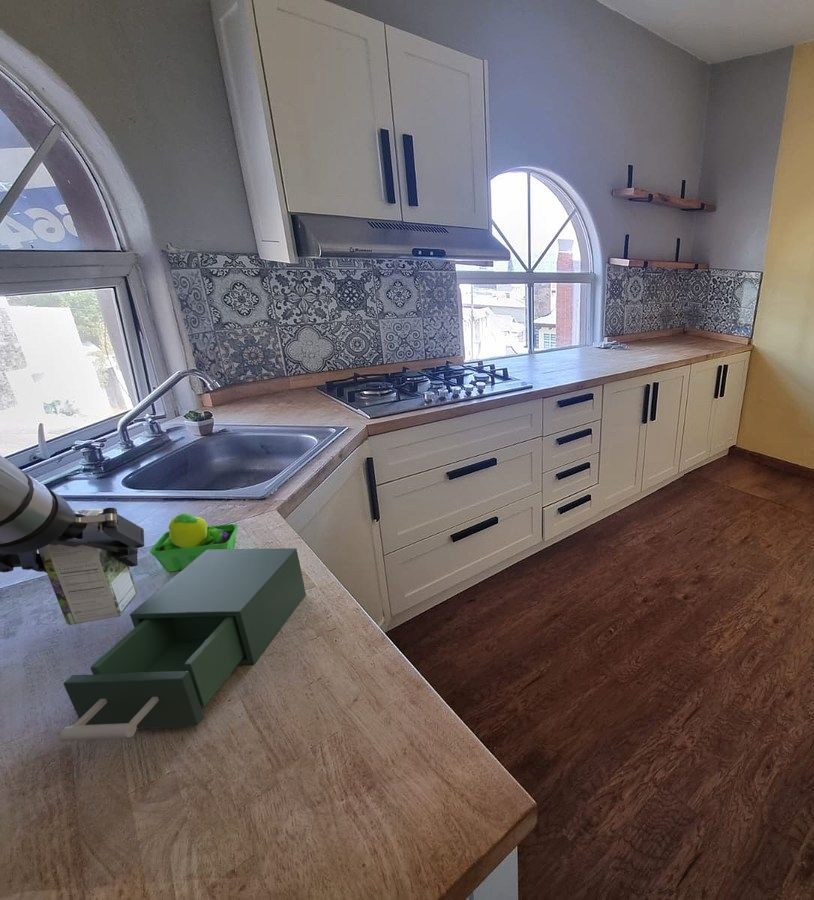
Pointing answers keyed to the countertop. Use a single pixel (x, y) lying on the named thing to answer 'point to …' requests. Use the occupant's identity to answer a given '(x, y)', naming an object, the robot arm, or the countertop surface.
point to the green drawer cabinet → (234, 593)
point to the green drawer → (154, 677)
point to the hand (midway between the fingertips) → (101, 563)
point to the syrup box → (88, 580)
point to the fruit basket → (191, 541)
